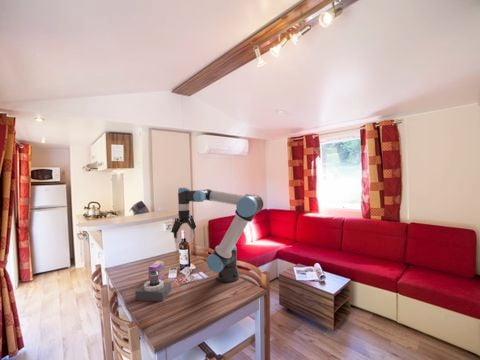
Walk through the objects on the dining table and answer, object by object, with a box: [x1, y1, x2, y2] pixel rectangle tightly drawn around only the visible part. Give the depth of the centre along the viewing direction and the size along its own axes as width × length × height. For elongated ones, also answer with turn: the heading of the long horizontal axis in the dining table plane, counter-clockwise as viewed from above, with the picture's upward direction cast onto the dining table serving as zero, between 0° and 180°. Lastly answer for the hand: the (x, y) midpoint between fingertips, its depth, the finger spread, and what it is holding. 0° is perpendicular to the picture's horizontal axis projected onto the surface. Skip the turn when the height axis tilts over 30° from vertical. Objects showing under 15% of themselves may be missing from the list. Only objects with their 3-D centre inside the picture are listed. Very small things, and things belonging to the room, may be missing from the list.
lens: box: [148, 270, 159, 286], centre depth 135 cm, size 5×5×9 cm
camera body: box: [135, 279, 172, 302], centre depth 135 cm, size 16×12×7 cm
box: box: [148, 260, 165, 281], centre depth 154 cm, size 10×6×12 cm, turn 168°
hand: (184, 240), depth 157 cm, fingers open, 13 cm apart
